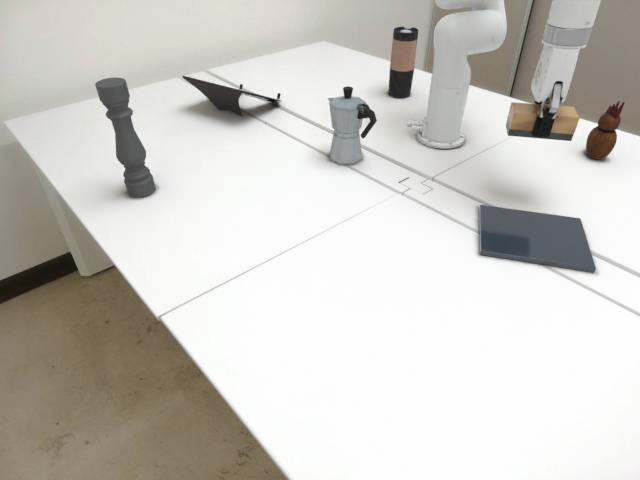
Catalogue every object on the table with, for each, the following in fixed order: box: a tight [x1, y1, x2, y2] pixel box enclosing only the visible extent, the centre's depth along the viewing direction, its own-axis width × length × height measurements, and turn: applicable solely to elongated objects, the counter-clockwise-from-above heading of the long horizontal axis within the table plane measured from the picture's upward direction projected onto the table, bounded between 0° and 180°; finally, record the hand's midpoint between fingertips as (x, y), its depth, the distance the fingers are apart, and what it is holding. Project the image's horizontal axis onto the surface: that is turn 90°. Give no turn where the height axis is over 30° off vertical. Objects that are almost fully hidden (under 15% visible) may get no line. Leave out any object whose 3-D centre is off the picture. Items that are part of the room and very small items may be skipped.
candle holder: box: [94, 77, 157, 199], centre depth 97 cm, size 6×6×25 cm
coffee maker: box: [327, 85, 378, 166], centre depth 111 cm, size 15×9×18 cm, turn 47°
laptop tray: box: [181, 75, 282, 117], centre depth 140 cm, size 23×23×9 cm
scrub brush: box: [505, 101, 580, 142], centre depth 92 cm, size 12×6×5 cm, turn 77°
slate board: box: [478, 204, 597, 273], centre depth 90 cm, size 20×16×1 cm
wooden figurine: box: [585, 101, 626, 160], centre depth 112 cm, size 7×6×15 cm
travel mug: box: [388, 26, 419, 99], centre depth 144 cm, size 8×8×20 cm
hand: (538, 128), depth 93 cm, fingers closed on scrub brush, 5 cm apart
